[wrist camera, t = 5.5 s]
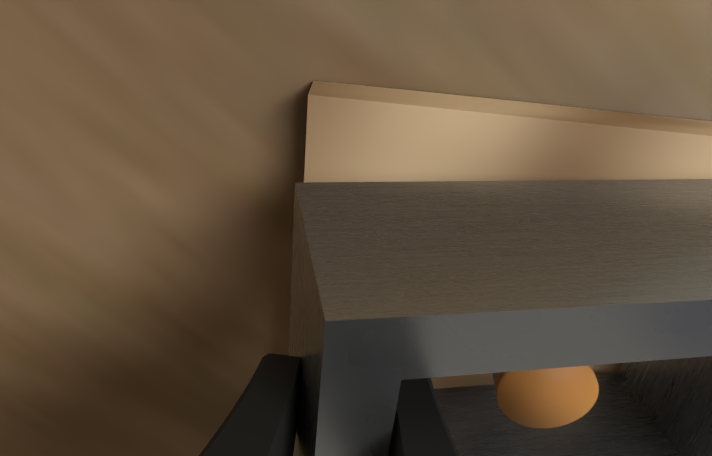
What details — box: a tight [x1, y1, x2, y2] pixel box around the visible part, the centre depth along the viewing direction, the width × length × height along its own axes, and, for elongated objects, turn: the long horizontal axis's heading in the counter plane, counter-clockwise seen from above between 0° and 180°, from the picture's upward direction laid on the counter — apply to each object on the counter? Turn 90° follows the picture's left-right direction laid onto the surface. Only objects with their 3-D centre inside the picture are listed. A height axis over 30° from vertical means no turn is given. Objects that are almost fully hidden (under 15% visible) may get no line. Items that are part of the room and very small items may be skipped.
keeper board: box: [304, 80, 712, 428], centre depth 14 cm, size 11×9×4 cm
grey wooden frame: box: [288, 179, 712, 456], centre depth 13 cm, size 10×7×4 cm
